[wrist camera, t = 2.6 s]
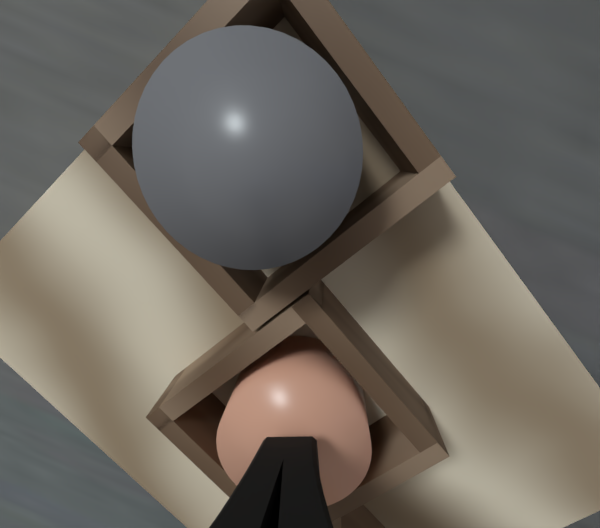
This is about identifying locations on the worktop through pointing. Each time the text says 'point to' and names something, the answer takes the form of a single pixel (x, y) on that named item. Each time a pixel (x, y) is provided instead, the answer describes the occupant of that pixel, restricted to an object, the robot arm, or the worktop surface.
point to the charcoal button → (247, 147)
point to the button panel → (305, 323)
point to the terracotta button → (299, 413)
